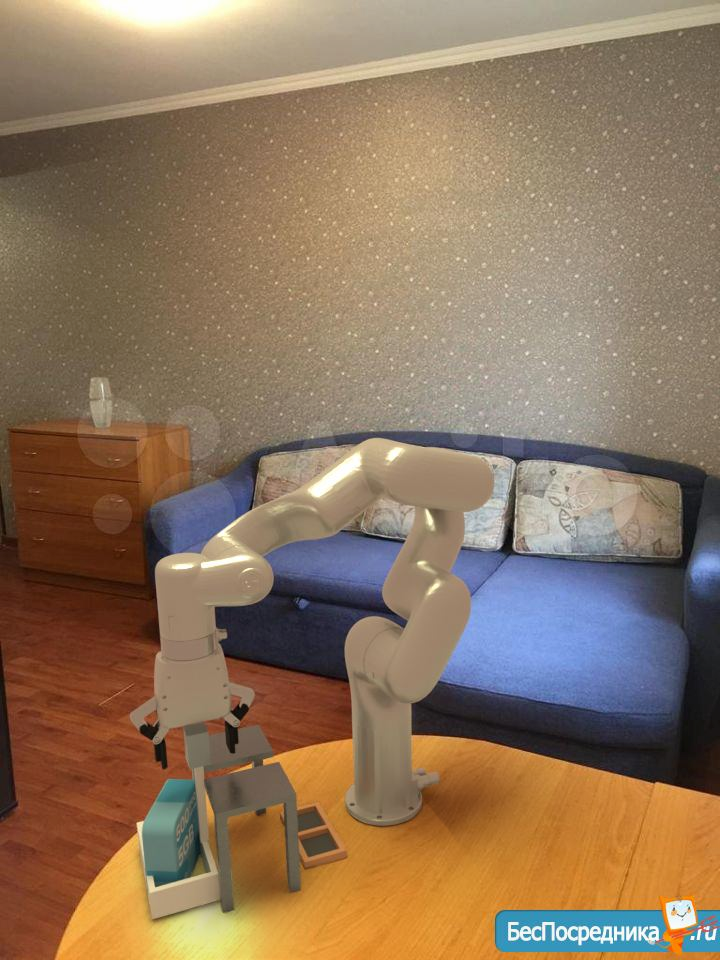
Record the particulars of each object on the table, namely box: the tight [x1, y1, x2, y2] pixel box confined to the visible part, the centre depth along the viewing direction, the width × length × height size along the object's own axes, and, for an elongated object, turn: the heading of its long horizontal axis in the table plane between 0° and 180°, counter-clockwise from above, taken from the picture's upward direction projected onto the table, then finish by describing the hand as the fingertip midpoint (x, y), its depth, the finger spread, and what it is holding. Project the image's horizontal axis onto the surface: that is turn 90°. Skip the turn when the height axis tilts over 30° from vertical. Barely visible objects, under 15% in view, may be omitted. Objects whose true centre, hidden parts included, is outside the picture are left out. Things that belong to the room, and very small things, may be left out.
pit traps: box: [279, 801, 348, 870], centre depth 120 cm, size 6×13×1 cm, turn 22°
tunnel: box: [191, 724, 302, 914], centre depth 115 cm, size 11×20×15 cm, turn 22°
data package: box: [142, 778, 201, 893], centre depth 111 cm, size 12×4×12 cm, turn 175°
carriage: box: [136, 721, 220, 920], centre depth 111 cm, size 10×16×22 cm, turn 22°
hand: (197, 756), depth 111 cm, fingers open, 9 cm apart
